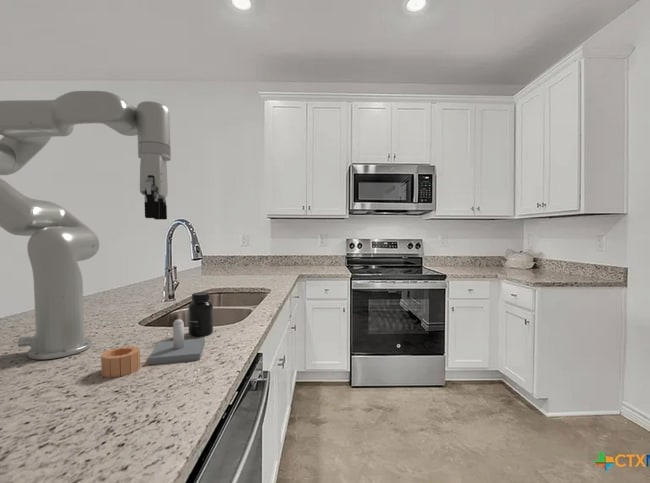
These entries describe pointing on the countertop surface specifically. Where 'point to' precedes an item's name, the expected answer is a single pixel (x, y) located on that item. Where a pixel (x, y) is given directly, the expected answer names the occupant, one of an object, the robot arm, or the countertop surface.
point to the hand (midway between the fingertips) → (156, 218)
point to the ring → (120, 361)
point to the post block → (177, 347)
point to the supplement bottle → (200, 315)
